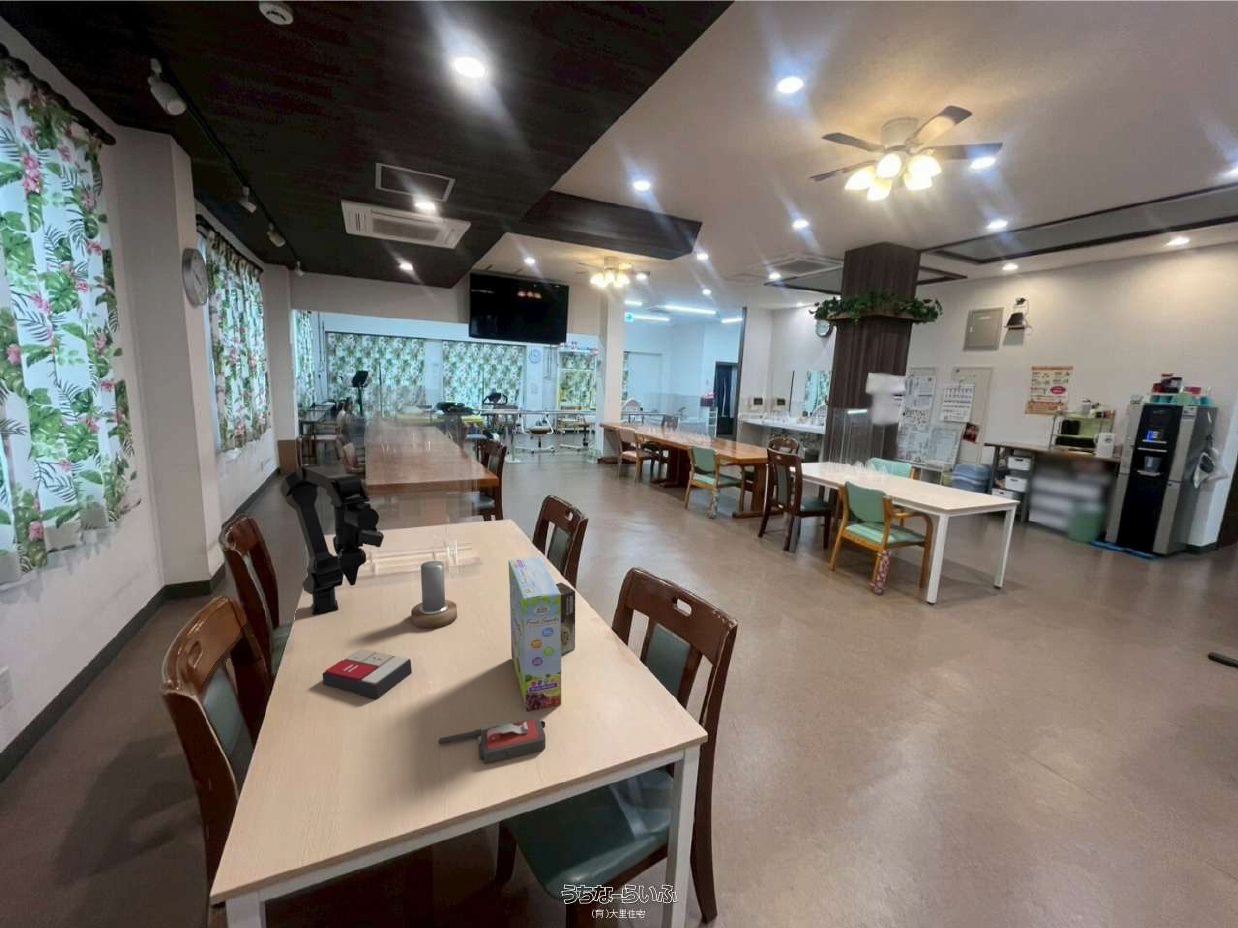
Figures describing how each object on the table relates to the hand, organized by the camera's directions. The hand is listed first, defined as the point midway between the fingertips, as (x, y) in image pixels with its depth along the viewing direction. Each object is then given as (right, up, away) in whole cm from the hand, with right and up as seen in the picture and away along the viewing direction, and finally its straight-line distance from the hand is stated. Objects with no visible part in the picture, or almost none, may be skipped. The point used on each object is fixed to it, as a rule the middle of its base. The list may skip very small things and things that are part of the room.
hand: (350, 578), depth 138 cm
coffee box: (+55, -17, -7) cm, 58 cm away
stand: (+20, -13, +7) cm, 25 cm away
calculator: (+15, -18, -21) cm, 32 cm away
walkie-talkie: (+49, -23, -41) cm, 68 cm away
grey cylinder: (+20, -10, +6) cm, 23 cm away
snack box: (+52, -19, -20) cm, 59 cm away
